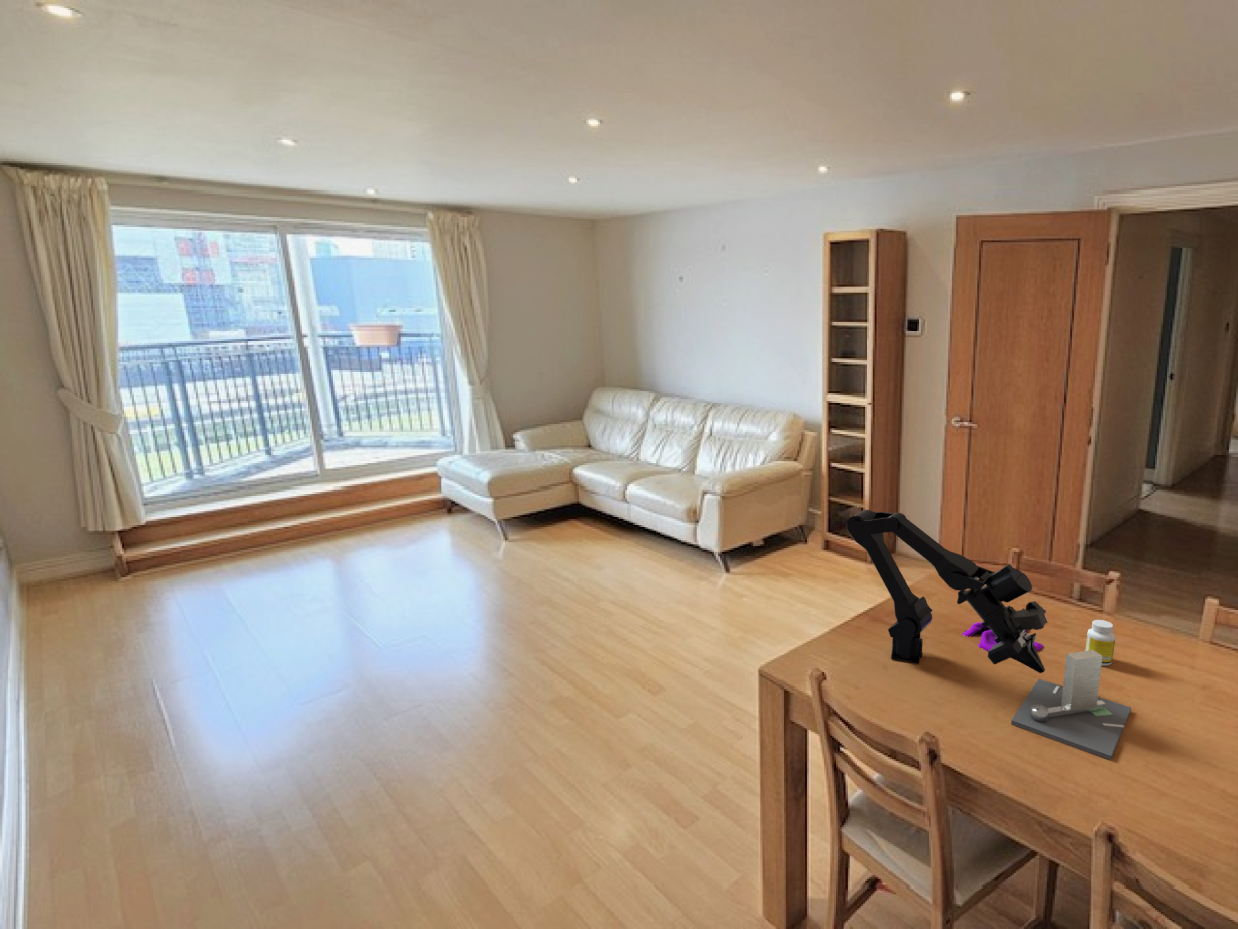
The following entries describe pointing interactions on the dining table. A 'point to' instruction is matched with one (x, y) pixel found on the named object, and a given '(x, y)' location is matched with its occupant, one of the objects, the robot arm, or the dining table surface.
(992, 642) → the cloth
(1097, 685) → the frosted block on spoon
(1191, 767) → the dining table surface
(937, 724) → the dining table surface
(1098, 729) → the plate
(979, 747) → the dining table surface
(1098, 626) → the supplement bottle
